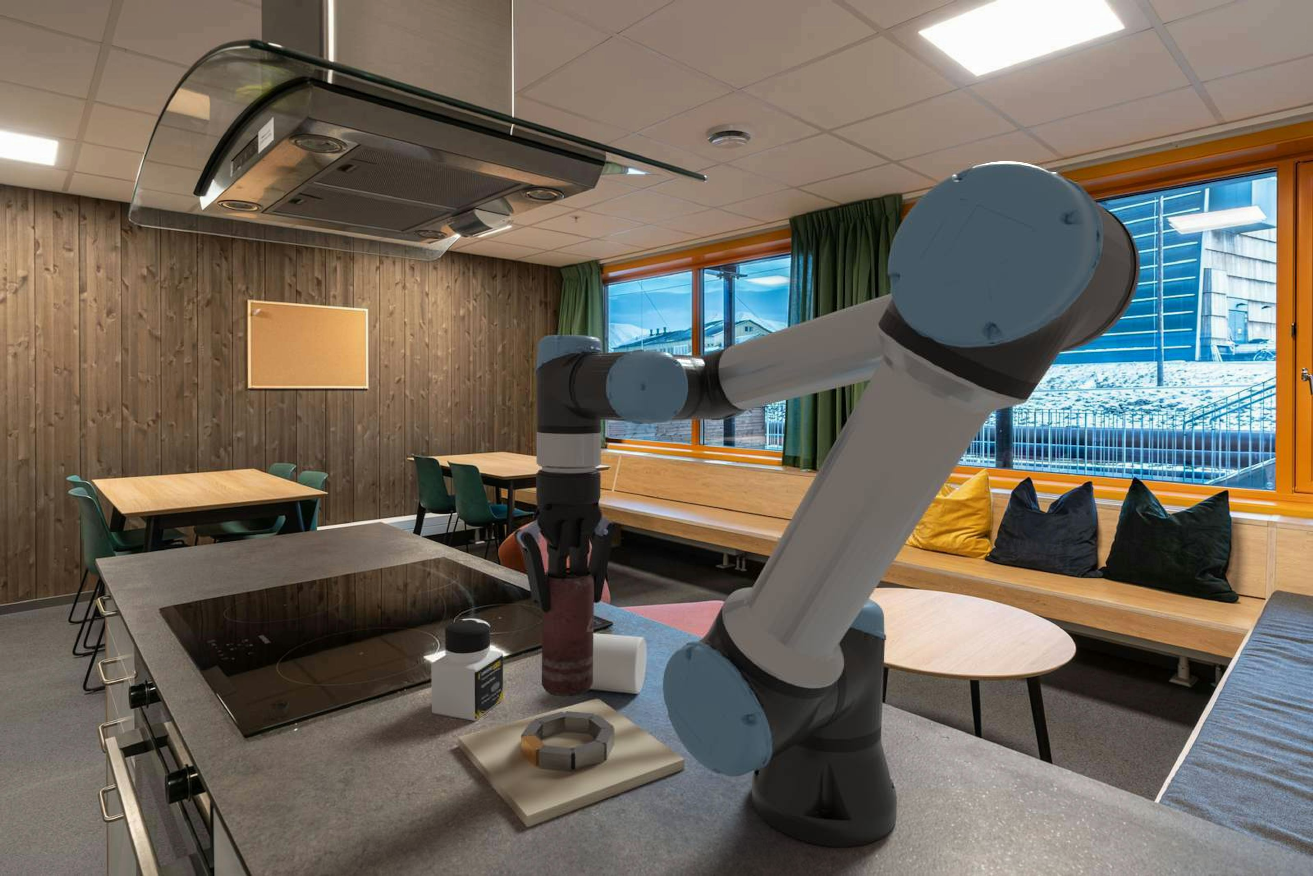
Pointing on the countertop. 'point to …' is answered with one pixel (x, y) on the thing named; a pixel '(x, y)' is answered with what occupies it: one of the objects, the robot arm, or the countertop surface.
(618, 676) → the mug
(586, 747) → the socket
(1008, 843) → the countertop surface
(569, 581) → the can
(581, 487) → the robot arm
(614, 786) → the hub board
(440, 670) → the medicine bottle
